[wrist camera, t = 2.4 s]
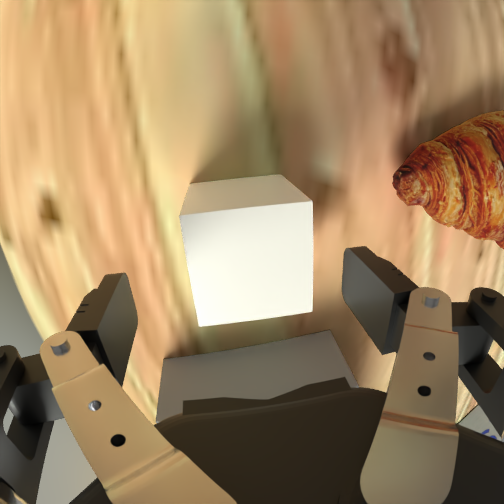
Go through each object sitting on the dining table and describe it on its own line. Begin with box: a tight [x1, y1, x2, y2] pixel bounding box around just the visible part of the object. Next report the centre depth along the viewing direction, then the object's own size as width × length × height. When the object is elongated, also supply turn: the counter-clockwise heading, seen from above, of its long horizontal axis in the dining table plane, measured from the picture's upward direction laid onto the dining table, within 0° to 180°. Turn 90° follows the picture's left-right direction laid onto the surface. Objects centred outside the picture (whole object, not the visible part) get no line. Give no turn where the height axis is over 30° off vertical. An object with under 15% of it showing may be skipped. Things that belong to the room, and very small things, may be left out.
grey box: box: [156, 330, 359, 423], centre depth 22 cm, size 12×12×6 cm
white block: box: [179, 174, 313, 327], centre depth 16 cm, size 5×5×6 cm
